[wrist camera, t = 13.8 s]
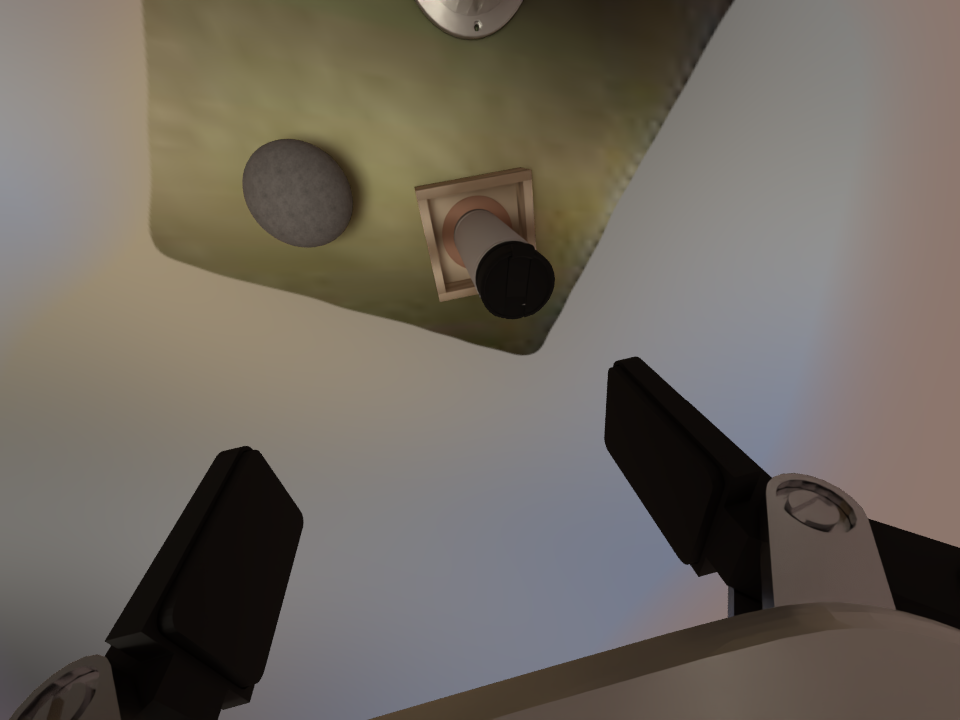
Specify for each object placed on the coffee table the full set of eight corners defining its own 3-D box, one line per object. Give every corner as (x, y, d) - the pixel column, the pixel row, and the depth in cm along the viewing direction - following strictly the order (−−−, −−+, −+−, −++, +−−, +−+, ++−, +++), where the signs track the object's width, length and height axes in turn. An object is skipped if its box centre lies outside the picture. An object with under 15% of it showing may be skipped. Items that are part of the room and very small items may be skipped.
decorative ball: (246, 197, 40) (204, 211, 32) (290, 116, 37) (255, 108, 29) (330, 252, 44) (312, 278, 36) (374, 184, 42) (366, 195, 33)
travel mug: (503, 205, 44) (564, 244, 27) (500, 259, 47) (552, 324, 30) (453, 205, 43) (482, 245, 26) (453, 260, 46) (480, 327, 29)
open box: (414, 187, 42) (415, 191, 39) (520, 167, 43) (531, 169, 39) (437, 289, 49) (440, 301, 45) (528, 270, 50) (538, 281, 46)
